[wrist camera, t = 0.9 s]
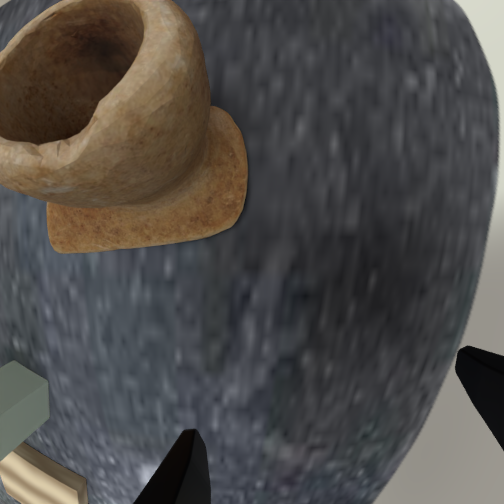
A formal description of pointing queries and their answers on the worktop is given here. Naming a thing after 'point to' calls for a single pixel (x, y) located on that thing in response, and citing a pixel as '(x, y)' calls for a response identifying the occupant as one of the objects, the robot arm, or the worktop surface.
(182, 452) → the robot arm
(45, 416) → the sage block
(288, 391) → the worktop surface
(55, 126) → the stone cup
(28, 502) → the birch base
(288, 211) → the worktop surface
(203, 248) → the worktop surface
